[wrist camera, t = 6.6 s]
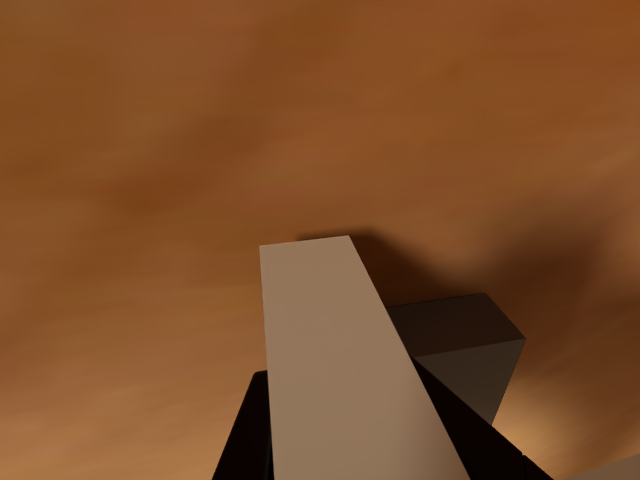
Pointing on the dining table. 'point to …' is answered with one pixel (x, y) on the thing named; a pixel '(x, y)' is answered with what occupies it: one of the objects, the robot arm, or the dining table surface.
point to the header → (463, 346)
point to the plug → (343, 374)
